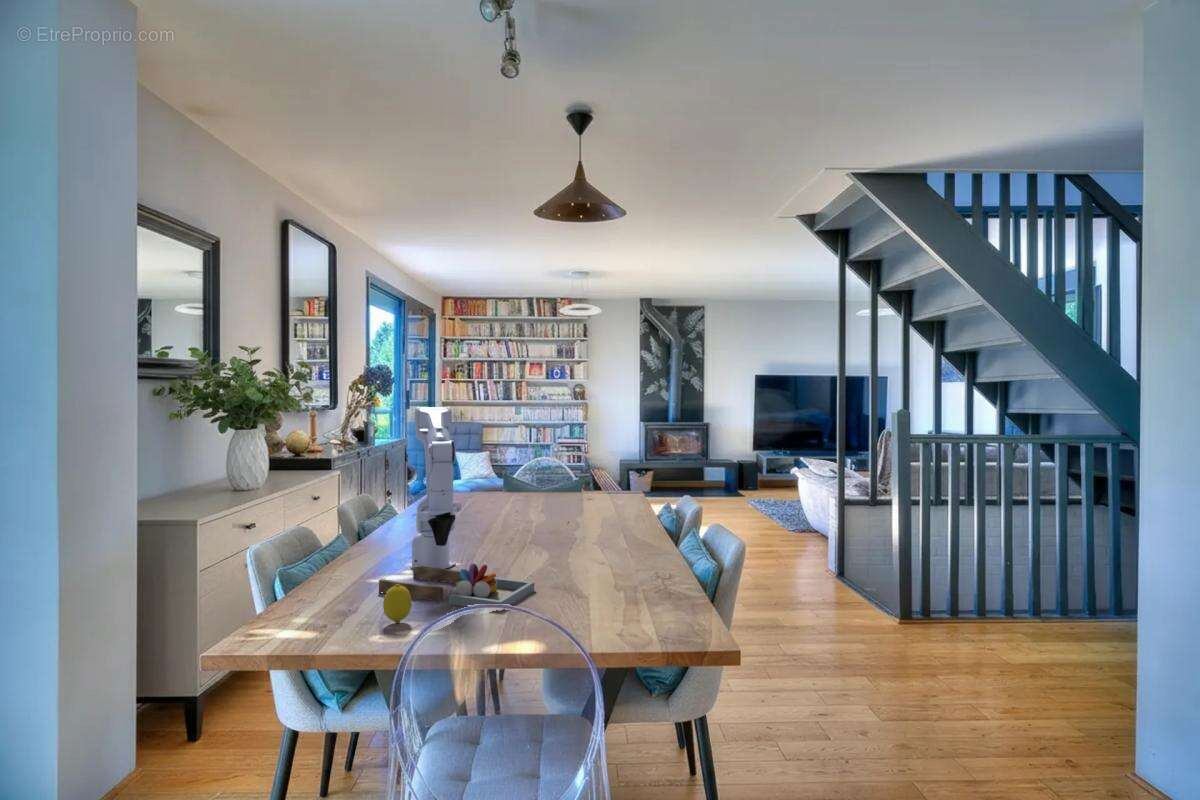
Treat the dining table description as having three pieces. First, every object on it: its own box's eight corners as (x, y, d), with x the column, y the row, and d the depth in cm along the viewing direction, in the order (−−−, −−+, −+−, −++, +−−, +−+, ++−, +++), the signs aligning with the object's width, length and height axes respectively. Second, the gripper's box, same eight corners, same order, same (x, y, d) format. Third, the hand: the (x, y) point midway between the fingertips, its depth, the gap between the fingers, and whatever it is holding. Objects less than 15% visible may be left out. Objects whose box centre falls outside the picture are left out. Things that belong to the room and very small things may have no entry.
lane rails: (378, 592, 155) (378, 580, 155) (415, 577, 168) (415, 565, 168) (440, 601, 149) (440, 588, 149) (473, 584, 162) (473, 572, 162)
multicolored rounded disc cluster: (491, 601, 150) (491, 569, 149) (450, 599, 151) (450, 567, 151) (501, 590, 158) (501, 559, 158) (462, 588, 159) (462, 558, 159)
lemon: (386, 618, 137) (386, 580, 137) (413, 618, 138) (414, 579, 138) (380, 628, 132) (380, 588, 132) (408, 627, 132) (408, 587, 132)
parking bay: (449, 604, 147) (449, 595, 147) (486, 584, 162) (486, 576, 162) (500, 611, 142) (500, 602, 142) (534, 590, 157) (534, 582, 157)
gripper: (437, 495, 154) (437, 553, 155) (471, 486, 168) (471, 540, 168) (412, 493, 157) (412, 550, 157) (447, 485, 171) (447, 537, 171)
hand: (441, 545), depth 163 cm, fingers closed
